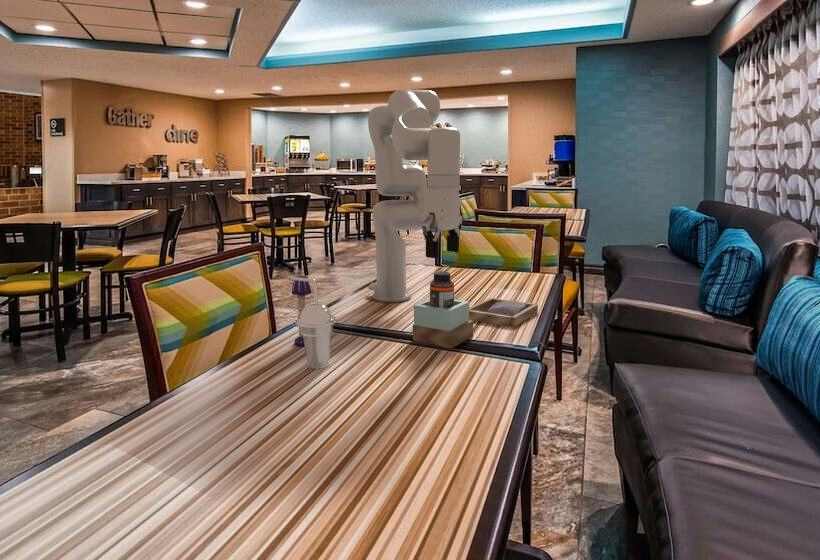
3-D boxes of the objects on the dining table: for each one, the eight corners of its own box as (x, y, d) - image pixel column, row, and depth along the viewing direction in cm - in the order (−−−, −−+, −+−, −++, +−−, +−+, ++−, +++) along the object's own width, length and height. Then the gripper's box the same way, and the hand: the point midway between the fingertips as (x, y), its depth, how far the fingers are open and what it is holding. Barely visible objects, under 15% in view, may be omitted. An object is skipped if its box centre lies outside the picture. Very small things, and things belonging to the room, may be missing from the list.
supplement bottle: (425, 315, 136) (425, 271, 134) (447, 313, 138) (447, 269, 136) (435, 321, 131) (435, 275, 128) (457, 319, 133) (458, 273, 130)
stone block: (485, 325, 153) (520, 322, 149) (483, 309, 153) (517, 305, 148) (497, 316, 164) (530, 313, 159) (494, 301, 163) (527, 297, 159)
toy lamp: (295, 340, 135) (291, 275, 132) (314, 340, 135) (311, 274, 132) (293, 347, 130) (289, 279, 127) (312, 346, 131) (309, 278, 127)
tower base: (412, 342, 135) (412, 324, 134) (435, 331, 144) (436, 314, 143) (451, 350, 129) (451, 331, 128) (473, 337, 138) (473, 320, 137)
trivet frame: (463, 318, 153) (463, 310, 153) (490, 305, 167) (490, 297, 167) (514, 327, 145) (514, 318, 144) (538, 312, 159) (538, 304, 158)
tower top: (413, 324, 134) (413, 305, 133) (434, 315, 142) (434, 296, 141) (449, 331, 128) (449, 310, 127) (468, 321, 137) (469, 301, 135)
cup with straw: (331, 373, 114) (327, 280, 109) (290, 371, 115) (285, 278, 111) (342, 359, 122) (339, 271, 118) (304, 357, 123) (300, 270, 119)
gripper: (448, 180, 136) (447, 248, 140) (409, 183, 122) (409, 258, 126) (474, 181, 132) (473, 250, 136) (438, 184, 118) (437, 261, 122)
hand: (442, 254), depth 131 cm, fingers open, 9 cm apart
